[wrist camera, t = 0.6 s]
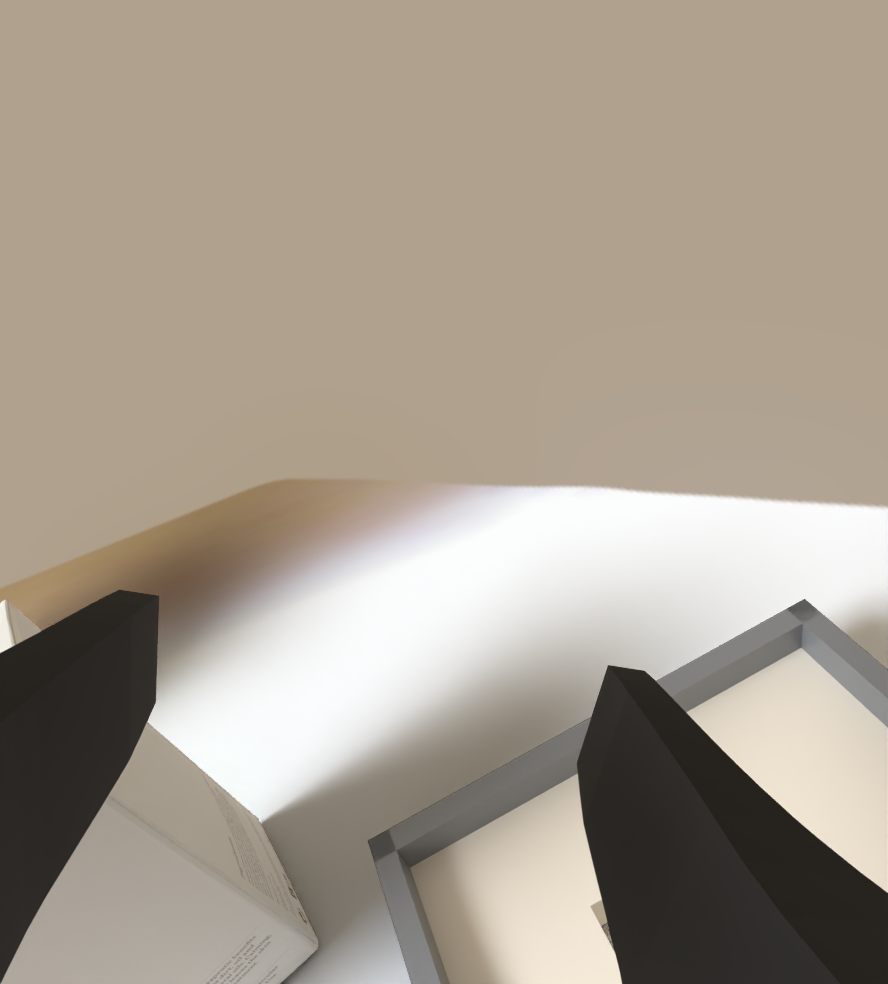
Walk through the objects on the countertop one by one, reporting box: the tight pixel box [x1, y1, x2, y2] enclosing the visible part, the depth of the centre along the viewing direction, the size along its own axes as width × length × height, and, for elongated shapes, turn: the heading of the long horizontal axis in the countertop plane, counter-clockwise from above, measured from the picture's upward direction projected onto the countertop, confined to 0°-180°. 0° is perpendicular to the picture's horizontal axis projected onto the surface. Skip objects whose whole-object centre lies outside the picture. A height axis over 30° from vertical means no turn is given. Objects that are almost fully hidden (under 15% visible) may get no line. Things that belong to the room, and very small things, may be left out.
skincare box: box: [0, 600, 318, 984], centre depth 21 cm, size 8×7×16 cm
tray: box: [368, 599, 888, 984], centre depth 21 cm, size 14×18×4 cm
